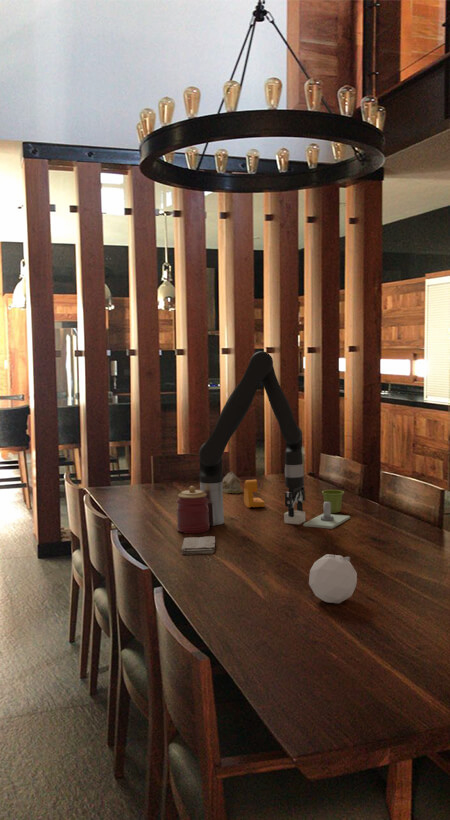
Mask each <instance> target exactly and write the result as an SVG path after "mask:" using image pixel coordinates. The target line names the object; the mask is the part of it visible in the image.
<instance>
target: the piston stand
mask: <svg viewBox="0 0 450 820" xmlns="http://www.w3.org/2000/svg"><path fill="white" fill-rule="evenodd" d="M349 519H351V516H350V515H343V514H335V513H331V507H330V502H323V513H321V514H319V515H317V516H315V517H314V518H312V519H309V520H308V521H305V522H303V523H302V524H303V527H308V528H309V527H311V528H318V529H320V528H321V529H329V530H331V529H332V530H333V529H334V528H336V527H337V526H339V525H341V524H343V523H344V522H346V521H348V520H349Z"/></svg>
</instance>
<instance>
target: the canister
mask: <svg viewBox="0 0 450 820" xmlns="http://www.w3.org/2000/svg"><path fill="white" fill-rule="evenodd" d="M206 495H207V494H206V493H204V492H203V491H201V490H200V489H196V487H195V486H194V485H190V486H189V487H188V490H186V489H185V490H183V491H181V492H180V493H179V494H178V495H177V497H178V499H176V501H175V503H176V504H177V508H176V522H177V523H176V528H177V531H178V532H179V531H180V532H179V533H181V532H186V533H185V534H201V533H207V532H208V531H210V528H211V526H210V523H209V507H208V502H209V499H208V498H206Z"/></svg>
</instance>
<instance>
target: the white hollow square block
mask: <svg viewBox="0 0 450 820" xmlns="http://www.w3.org/2000/svg"><path fill="white" fill-rule="evenodd" d="M283 516H284V517H283V519H284V520H283V521H284V522H283V523H284V524H289V525H290V524H291V525H301V524H304V523H306V511H304V510H303V511H297V510H294V517H289V516H288V511H287V512H284V514H283Z"/></svg>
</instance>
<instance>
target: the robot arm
mask: <svg viewBox="0 0 450 820" xmlns="http://www.w3.org/2000/svg"><path fill="white" fill-rule="evenodd" d="M274 367H275V366H274V360H273V357H272V355H271V354H270V353H269V352H267V351H263V350H262V351H261V350H260V351H257V352H255V353H254V354H252V356H251V357H250V360H249V362H248V366H247V367H246V370H245V372H244V374H243V375H242V377H241V380H240V381H239V383H238V384H237V385H236V387H235V388H234V389H233V391H232V393H231V394H230V396H229V397H228V399H227V400H226V402H225V404H224V406H223V408H222V409H221V412H220V415H219V417H218V419H217V422H216V424H215V427H214V430H213V431H212V433H211V435H210V436H209V437H208V439H207V441H206V442H204V443H203V444H202V445H201V446H200V447H199V452H198V460H199V486H200V487H199V490H201V491H203V492H204V493H206V494H207V495H206V498H208V499H209V502H208V507H209V523H210V525H211V526H212V527H214V526H219V525H223V524H224V522H225V521H224V520H225V518H224V516H225V515H224V514H225V513H224V493H223V478H224V476H223V455H224V452H225V450H226V448H227V446H228V444H229V441H230V439H231V438H232V436H233V435H234V434H235V432H236V431H237V430H238V428H239V426H240V425H241V424H242V422H243V420H244V419H245V416H246V415H247V413H248V411H249V409H250V407H251V405H252V403H253V401H254V398H255V396H256V393H257V392H258V391H257V390H258V388H259V387H260V385H262V386H263V388H264V391H265V393H266V396H267V399H268V402H269V404H270V407H271V409H272V412H273V415H274V416H275V419H276V421H277V423H278V427H279V429H280V432H281V436H282V438H283V439H284V441H285V451H284V452H285V453H284V464H285V465H284V483H285V484H284V485H285V487H286V488H288V491H285V492H284V507H285V508H287V512H288V516H289V517H294V511H295V504H296V511H304V509H303V508H304V507H303V504H304V501H306V495H305V494H306V493H305V491H306V490H305V478H304V477H305V476H304V474H305V473H304V465H303V464H304V463H303V452H302V451H303V432H302V429H301V427H300V426H298V425H297V423H296V420H295V418H294V413H293V410H292V408H291V406H290V403H289V401H288V399H287V397H286V394H285V393H284V391H283V390H282V387H281V385H280V383H279V381H278V377H277V376H276V372H275V368H274ZM211 526H210V527H211Z"/></svg>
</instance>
